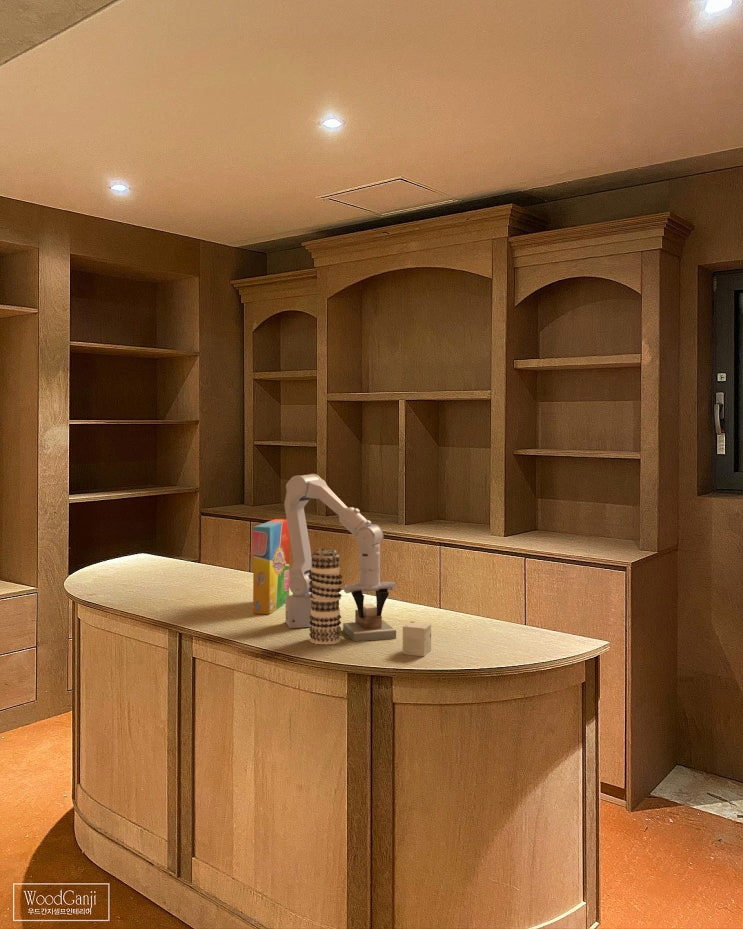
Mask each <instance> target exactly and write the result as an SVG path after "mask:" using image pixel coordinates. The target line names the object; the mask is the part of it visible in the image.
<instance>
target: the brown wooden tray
mask: <svg viewBox="0 0 743 929" xmlns="http://www.w3.org/2000/svg"><path fill="white" fill-rule="evenodd" d="M354 612H355V614H354V615H355V616H354V617H355V618H354V619H355V620H354V621H355V622H356V623H358V624H359V625H360V626H361V627H362V628H363V629H377V628H382V620H383V617H382V616H383V615H382V614H381V615H380V616H372V617H365V616H363V618H360V617H359V613H358V609H355V611H354Z"/></svg>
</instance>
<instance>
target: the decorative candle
mask: <svg viewBox="0 0 743 929" xmlns="http://www.w3.org/2000/svg"><path fill="white" fill-rule="evenodd" d="M341 556H342V555H341V554H339V553H338V551H337V550H336V549H334V548H318V549H316V550H314V552H313V553H311V557H312V566H311V570H310V571H309V573H310V574H309V575H308V577H309V579H311V581H310V582H309V585H310V588H309V591H310V592H311V594H310V596H309V597H310V600H312V601H311V615H310V616H309V617H310V619H311V621H310V622H309V623H310V625H312V626H311V627H308V628H309V629H308V630H309V632H310V633H309V637H310V638H309V643H311V642H312V644H313V643H315V644H314V645H317V644H326V645H325V646H328V645H327V644H332V645H335V644H334V643H337V642H339V641H340V640H341V636H342V634H341V631H342V628H341V626H340V625H341V624H342V622H341V618H342V615H341V611H340V610H341V609H340V600H341V599H342V598H341V597H343V595H342V594H341V593H340V592H342V588H341V587H340V585H342V584H343V581H342V580H341V579H343V575H341V574H340V572H341V566H340V557H341ZM340 642H341V641H340ZM340 642H339V643H340ZM337 644H338V643H337Z"/></svg>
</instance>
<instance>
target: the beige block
mask: <svg viewBox="0 0 743 929" xmlns="http://www.w3.org/2000/svg"><path fill="white" fill-rule="evenodd" d="M363 612H364V616H365V617H372V616H377V606H375V605H374V604H373V603H365V604H364V603H363Z"/></svg>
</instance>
